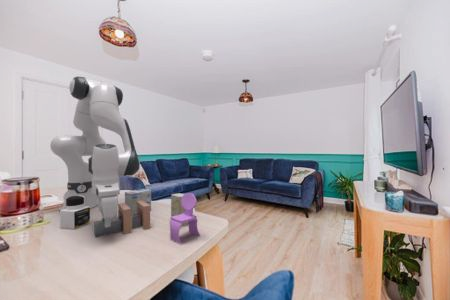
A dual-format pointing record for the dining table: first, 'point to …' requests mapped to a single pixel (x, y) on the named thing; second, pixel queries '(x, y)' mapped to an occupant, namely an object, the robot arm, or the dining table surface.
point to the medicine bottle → (74, 213)
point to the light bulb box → (137, 198)
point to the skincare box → (177, 205)
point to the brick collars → (140, 208)
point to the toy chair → (184, 218)
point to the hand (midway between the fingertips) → (106, 224)
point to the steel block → (116, 225)
